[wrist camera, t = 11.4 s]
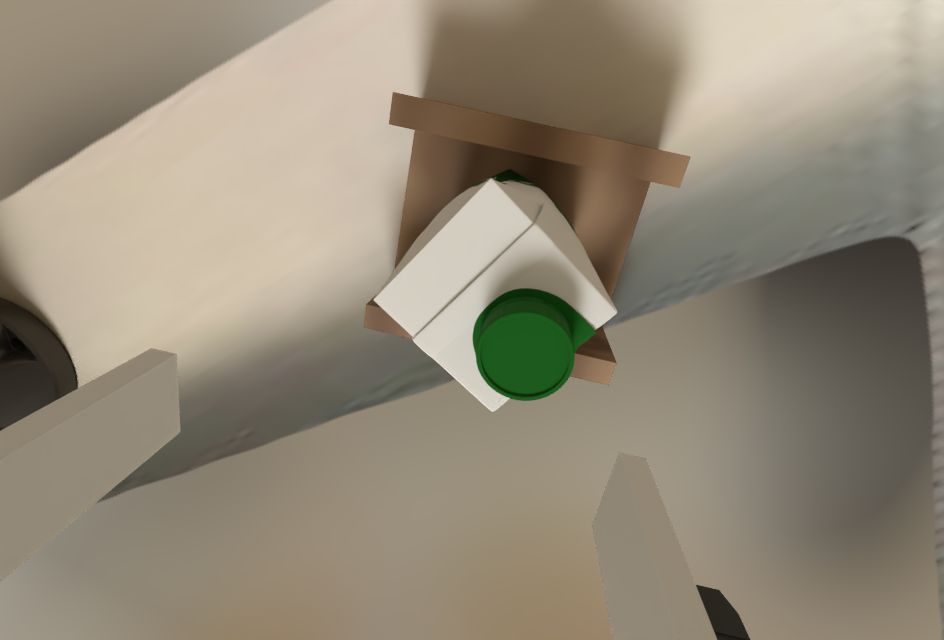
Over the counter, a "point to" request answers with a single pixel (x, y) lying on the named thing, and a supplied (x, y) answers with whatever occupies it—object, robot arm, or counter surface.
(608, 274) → the u rest
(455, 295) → the soya milk
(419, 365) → the counter surface
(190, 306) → the counter surface
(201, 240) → the counter surface
